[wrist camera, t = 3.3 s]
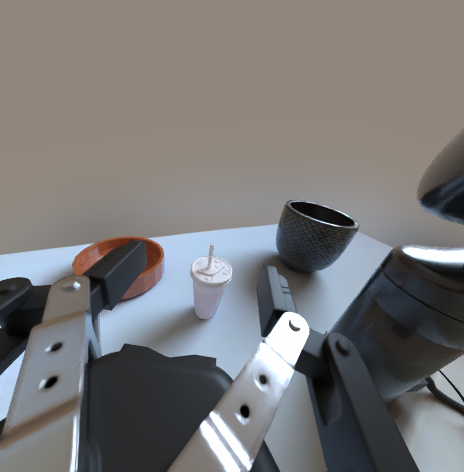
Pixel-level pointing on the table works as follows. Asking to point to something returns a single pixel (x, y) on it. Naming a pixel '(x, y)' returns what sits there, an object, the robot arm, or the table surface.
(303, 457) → the table surface
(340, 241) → the planter
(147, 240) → the bowl
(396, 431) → the robot arm
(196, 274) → the smoothie
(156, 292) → the table surface
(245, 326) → the table surface
